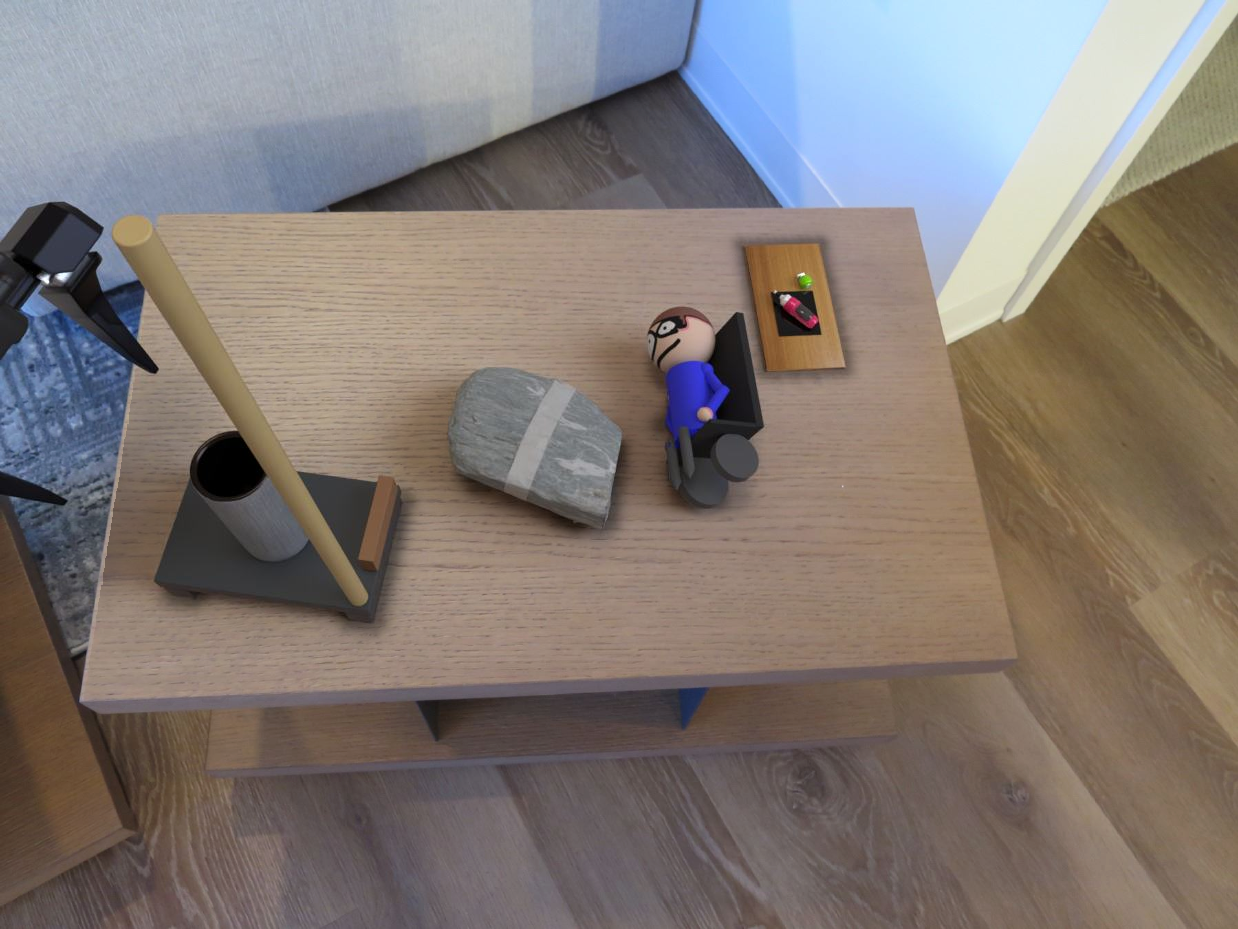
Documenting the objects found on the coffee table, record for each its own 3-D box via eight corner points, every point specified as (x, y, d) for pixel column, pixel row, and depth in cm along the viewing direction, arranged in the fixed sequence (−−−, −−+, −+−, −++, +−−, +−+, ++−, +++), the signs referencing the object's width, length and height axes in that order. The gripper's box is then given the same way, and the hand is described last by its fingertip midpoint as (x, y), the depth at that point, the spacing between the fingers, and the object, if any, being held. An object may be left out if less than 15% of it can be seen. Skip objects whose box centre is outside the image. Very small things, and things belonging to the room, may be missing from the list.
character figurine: (661, 520, 69) (643, 344, 75) (761, 512, 69) (734, 337, 76) (664, 475, 62) (644, 285, 68) (775, 466, 62) (745, 277, 69)
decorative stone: (430, 486, 69) (420, 449, 63) (483, 372, 73) (477, 329, 68) (602, 544, 68) (606, 511, 62) (645, 424, 72) (652, 384, 67)
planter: (326, 532, 64) (287, 468, 54) (268, 576, 62) (218, 517, 53) (285, 486, 65) (241, 415, 56) (228, 528, 63) (172, 462, 54)
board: (818, 244, 80) (823, 233, 79) (844, 368, 75) (850, 358, 74) (745, 247, 80) (748, 235, 78) (767, 371, 75) (770, 361, 73)
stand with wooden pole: (169, 595, 64) (-324, 188, 28) (210, 474, 68) (-177, -20, 32) (376, 623, 64) (149, 254, 28) (405, 501, 68) (238, 39, 32)
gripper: (-315, 446, 38) (55, 606, 48) (-22, 99, 44) (255, 309, 54) (-319, 422, 46) (0, 564, 56) (-71, 130, 51) (180, 308, 62)
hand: (111, 435), depth 57 cm, fingers open, 9 cm apart
